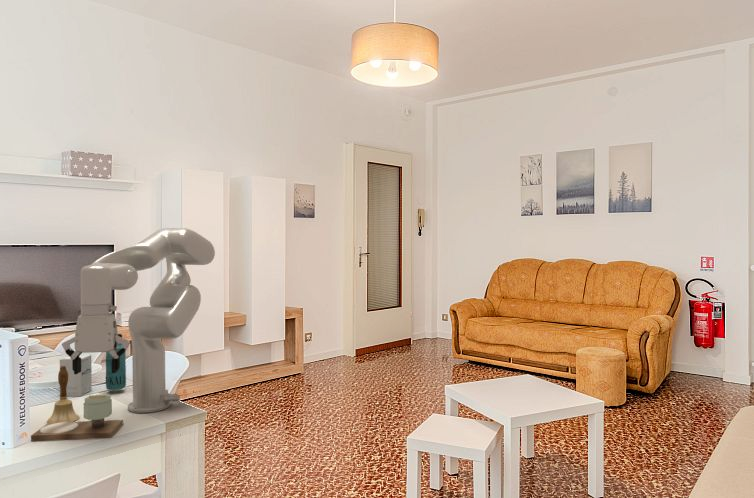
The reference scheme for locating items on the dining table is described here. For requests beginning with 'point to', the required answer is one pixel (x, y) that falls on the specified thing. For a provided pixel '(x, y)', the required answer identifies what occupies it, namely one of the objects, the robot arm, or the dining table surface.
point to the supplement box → (78, 376)
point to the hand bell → (63, 402)
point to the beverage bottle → (118, 378)
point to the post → (98, 423)
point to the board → (76, 430)
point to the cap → (97, 407)
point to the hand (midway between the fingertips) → (96, 372)
